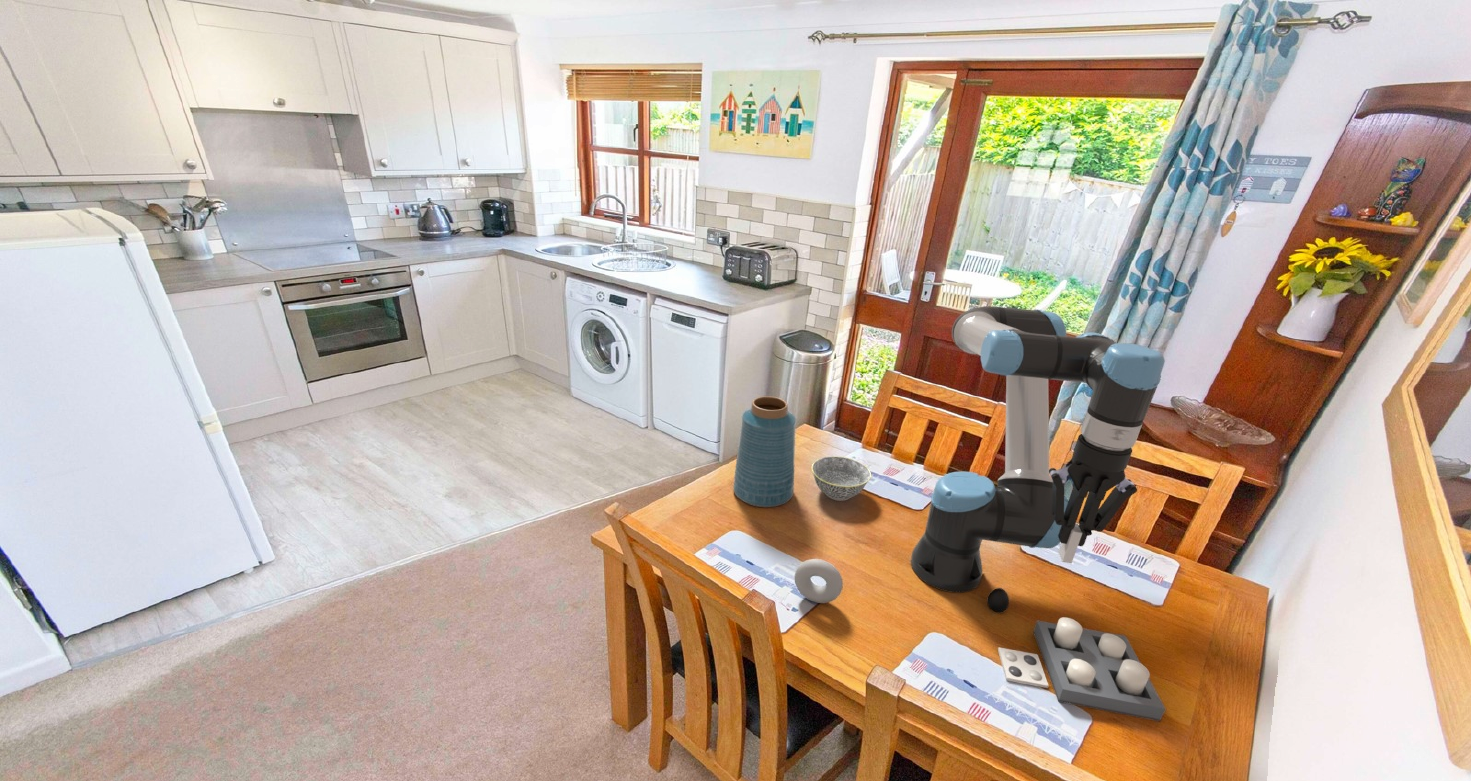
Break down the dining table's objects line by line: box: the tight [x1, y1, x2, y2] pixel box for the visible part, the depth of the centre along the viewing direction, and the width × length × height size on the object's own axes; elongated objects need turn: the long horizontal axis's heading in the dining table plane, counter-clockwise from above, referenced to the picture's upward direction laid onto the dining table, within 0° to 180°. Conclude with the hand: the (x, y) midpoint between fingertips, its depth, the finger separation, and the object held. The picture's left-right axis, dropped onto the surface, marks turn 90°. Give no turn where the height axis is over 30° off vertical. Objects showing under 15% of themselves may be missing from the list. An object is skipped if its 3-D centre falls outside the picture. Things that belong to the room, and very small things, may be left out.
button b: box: [1115, 659, 1151, 696], centre depth 99 cm, size 4×4×4 cm
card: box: [997, 647, 1049, 689], centre depth 105 cm, size 7×7×1 cm
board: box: [1032, 620, 1166, 722], centre depth 105 cm, size 16×16×3 cm
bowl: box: [811, 455, 872, 502], centre depth 155 cm, size 16×16×8 cm
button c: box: [1053, 616, 1084, 650], centre depth 108 cm, size 4×4×4 cm
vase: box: [732, 395, 797, 508], centre depth 150 cm, size 16×16×27 cm
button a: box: [1066, 659, 1095, 687], centre depth 101 cm, size 4×4×4 cm
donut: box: [794, 558, 844, 604], centre depth 117 cm, size 10×4×10 cm, turn 71°
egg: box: [986, 587, 1010, 614], centre depth 118 cm, size 4×4×5 cm
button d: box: [1098, 632, 1126, 659], centre depth 107 cm, size 4×4×4 cm
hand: (1064, 557), depth 101 cm, fingers closed
